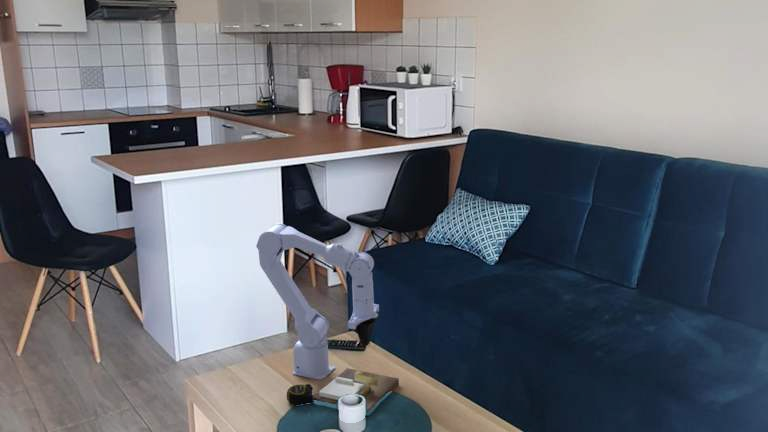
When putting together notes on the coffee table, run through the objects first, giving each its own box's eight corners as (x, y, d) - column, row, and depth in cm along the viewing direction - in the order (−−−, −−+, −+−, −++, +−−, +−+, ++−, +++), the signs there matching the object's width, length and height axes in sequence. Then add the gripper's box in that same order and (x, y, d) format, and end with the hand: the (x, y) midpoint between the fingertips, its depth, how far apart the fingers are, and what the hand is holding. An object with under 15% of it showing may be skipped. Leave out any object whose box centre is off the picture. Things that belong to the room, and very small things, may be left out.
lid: (319, 396, 181) (318, 388, 181) (335, 382, 188) (334, 375, 188) (349, 402, 177) (349, 394, 177) (364, 388, 184) (364, 381, 184)
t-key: (372, 399, 178) (372, 383, 177) (349, 393, 182) (348, 377, 180) (381, 391, 182) (381, 375, 181) (359, 386, 185) (358, 370, 184)
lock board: (313, 404, 182) (313, 396, 181) (347, 374, 197) (347, 367, 197) (368, 416, 175) (367, 409, 174) (398, 385, 190) (398, 377, 190)
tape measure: (313, 407, 180) (312, 394, 180) (286, 409, 180) (285, 396, 179) (313, 394, 187) (312, 382, 186) (287, 396, 186) (286, 384, 186)
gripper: (363, 308, 183) (365, 356, 187) (388, 291, 196) (389, 336, 199) (340, 305, 186) (342, 352, 190) (365, 287, 199) (367, 332, 202)
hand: (365, 343), depth 195 cm, fingers closed
